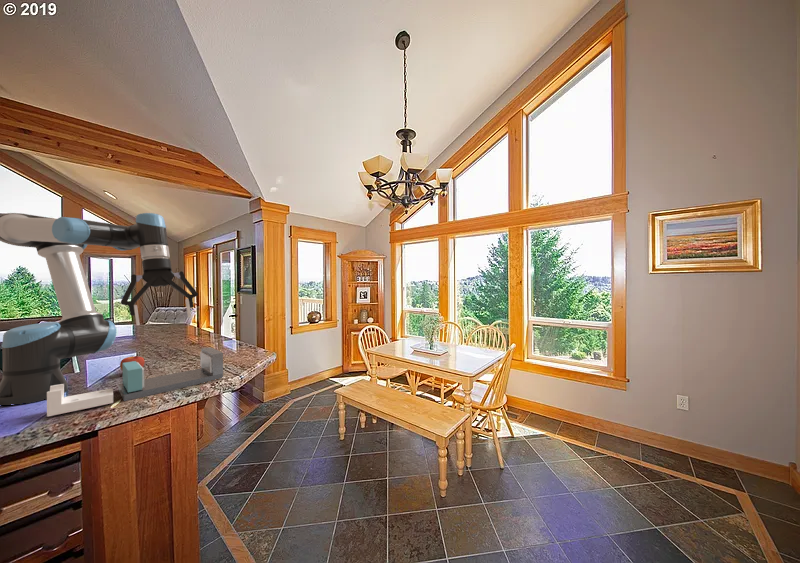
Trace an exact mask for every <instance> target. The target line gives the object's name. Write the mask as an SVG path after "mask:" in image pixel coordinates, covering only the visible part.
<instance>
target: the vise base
mask: <svg viewBox="0 0 800 563" xmlns="http://www.w3.org/2000/svg"><path fill="white" fill-rule="evenodd" d="M222 377H223V378H224V373H223V374H218V375H214V376H213V375H211V374H210V373H208V372H207V371H205V370H203V369H202V368H201V367H200V368H196V369H191V370H186V371H180V372H175V373H170V374H165V375H161V376H155V377H149V378H144V387H143V388H142V390H138V391H133V392H129V393H128V392H127V390H126V388H125V386H124V385H123V383H118V386H117V387H118V392H119V395H120V396H121V398H122V400H123V402H127V401H131V400H135V399H140V398H145V397H148V396H154V395H157V394H162V393H166V392H170V391H171V392H172V391H174V390H179V389H183V387H184V388H188V387H187V386H189V387H193V386H196V385H201V384H200V383H202V384H205V383H204V382H206V383H208V382H207V381H210V382H212V381H211V380H215V379H219V378H222ZM219 380H220V379H219ZM215 381H216V380H215ZM192 385H193V386H192Z"/></svg>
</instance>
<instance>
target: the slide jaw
mask: <svg viewBox="0 0 800 563" xmlns="http://www.w3.org/2000/svg"><path fill="white" fill-rule="evenodd" d="M122 369H123V371H122V384H123V385H124V386H125V388H126V390H127V392H128V393H129V392H133V391H138V390H142V388H143V387H144V379H145V368H144V366H143V367H142V366H141V365H140V364H139V363H138V362H136V361H132V362H126V363H122Z"/></svg>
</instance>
